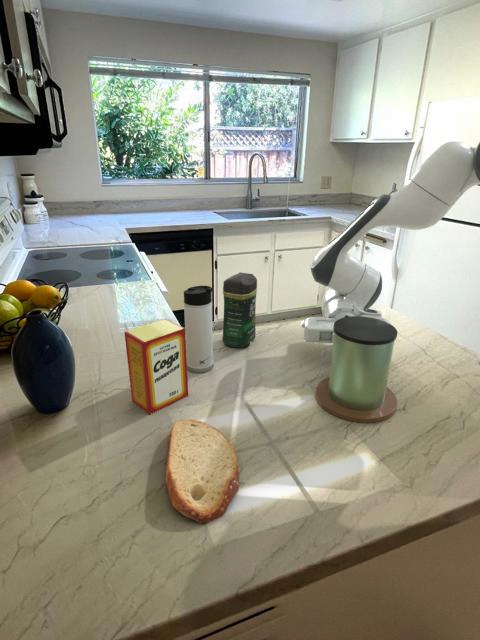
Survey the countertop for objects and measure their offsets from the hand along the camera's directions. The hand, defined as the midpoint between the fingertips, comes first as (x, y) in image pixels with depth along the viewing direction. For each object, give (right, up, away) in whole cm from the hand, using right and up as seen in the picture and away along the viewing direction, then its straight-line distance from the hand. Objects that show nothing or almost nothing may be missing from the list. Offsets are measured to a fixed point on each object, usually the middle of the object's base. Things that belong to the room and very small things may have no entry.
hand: (353, 346), depth 86 cm
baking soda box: (-41, -11, -2) cm, 42 cm away
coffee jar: (-24, 0, +23) cm, 34 cm away
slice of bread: (-32, -19, -20) cm, 42 cm away
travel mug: (-34, -6, +10) cm, 36 cm away
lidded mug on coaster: (-1, -10, -4) cm, 11 cm away
